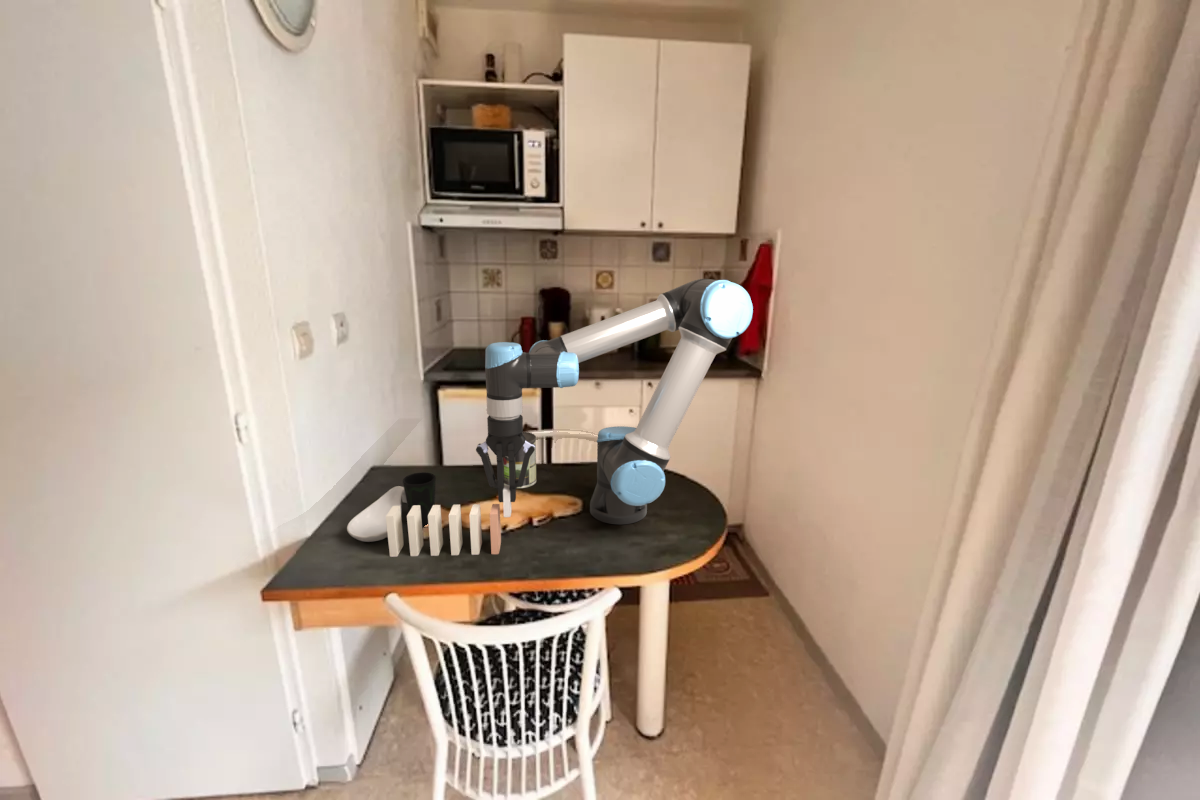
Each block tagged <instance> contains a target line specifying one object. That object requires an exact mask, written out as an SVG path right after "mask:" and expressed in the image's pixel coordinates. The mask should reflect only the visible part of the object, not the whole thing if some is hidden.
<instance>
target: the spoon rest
mask: <svg viewBox="0 0 1200 800" xmlns="http://www.w3.org/2000/svg"><path fill="white" fill-rule="evenodd" d="M402 503H404V504H407V500H406V495H405V490H404V486H399V485H398V486H394V487H392V488H390V489H389V490H387V492H385V493H384V494H382V495H381V496H380V497H379V498H378V499H377V500H375V501H374V502H373V503H371V504H370V505H368V506H367V507H366V508H365V509H363V510H362V511H360V512H359V513H358V514H356V515H355V516H354V517H353V518H352V519H351V520H350V521H349V522H348V524H347V526H346V531H347V533H348V535H350V536H351V537H352V538H354V539H356V540H358V541H360V542H367V543H370V542H371V543H373V542H378V541H382V540H384V539H386V538H388V533H387V524H386V515H387V514H388V512H389V511H390V509H391V508H392V506H400V510H401V511H402Z"/></svg>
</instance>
